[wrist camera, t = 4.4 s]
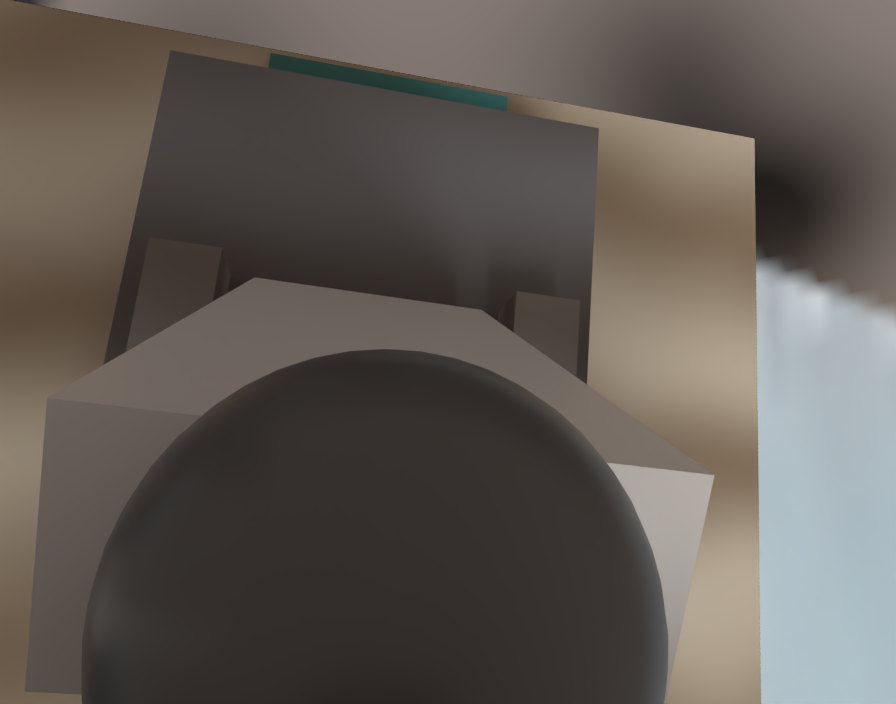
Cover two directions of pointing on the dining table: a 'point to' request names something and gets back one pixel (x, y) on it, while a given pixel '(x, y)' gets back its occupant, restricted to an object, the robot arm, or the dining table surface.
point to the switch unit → (374, 255)
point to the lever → (354, 517)
